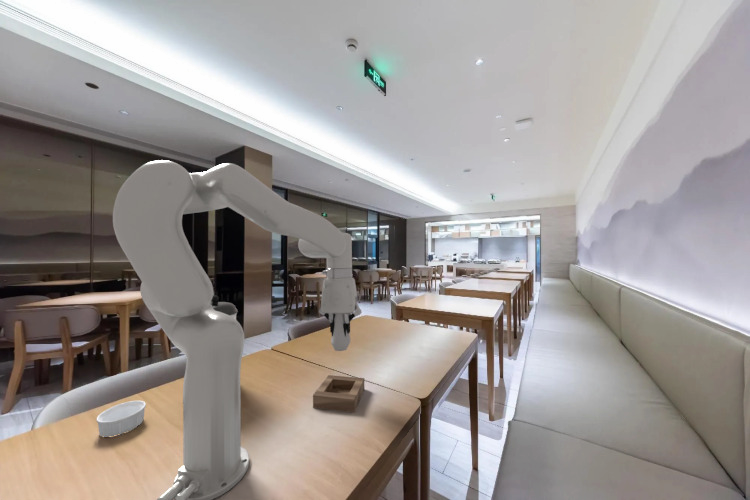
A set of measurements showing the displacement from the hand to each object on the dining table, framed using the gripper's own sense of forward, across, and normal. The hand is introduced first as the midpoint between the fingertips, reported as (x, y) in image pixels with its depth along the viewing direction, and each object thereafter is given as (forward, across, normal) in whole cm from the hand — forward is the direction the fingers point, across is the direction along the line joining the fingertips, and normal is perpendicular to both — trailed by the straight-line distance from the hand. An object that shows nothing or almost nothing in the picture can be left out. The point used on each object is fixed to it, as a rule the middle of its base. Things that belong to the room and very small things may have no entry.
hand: (340, 334), depth 78 cm
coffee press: (+19, -40, -3) cm, 45 cm away
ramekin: (+19, -50, -22) cm, 58 cm away
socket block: (+19, 0, 0) cm, 19 cm away
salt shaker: (+4, 0, 0) cm, 4 cm away
